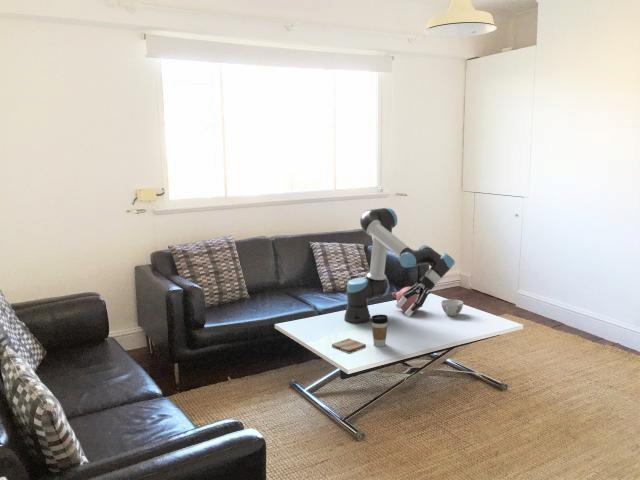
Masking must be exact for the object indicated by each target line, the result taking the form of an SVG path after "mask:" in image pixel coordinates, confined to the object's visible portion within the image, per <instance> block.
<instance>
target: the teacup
mask: <svg viewBox="0 0 640 480" xmlns="http://www.w3.org/2000/svg"><path fill="white" fill-rule="evenodd" d="M440 303H441V308H442V310H443V312H444V313H445V314H446V315H447V316H448V317H457V316H458V315H459V313H461V311H462V310H463V307H464V301H462V300H460V299H444V300H441V302H440Z"/></svg>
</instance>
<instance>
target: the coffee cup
mask: <svg viewBox="0 0 640 480" xmlns="http://www.w3.org/2000/svg"><path fill="white" fill-rule="evenodd" d="M388 319H389V318H388V315H386V314H373V315H371V319H370V321H371V329H372V340H373V346H375V347H379V348H380V347H385V346H386V341H387V331H388V322H389V320H388Z"/></svg>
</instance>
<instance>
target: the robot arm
mask: <svg viewBox="0 0 640 480" xmlns="http://www.w3.org/2000/svg"><path fill="white" fill-rule="evenodd" d="M359 222H360V228H361V229H362V230H363V231H364V232H365V234H367V235H368V236H371V237H373V238H372V248H371V256H370V263H369V264H370V266H369V272H368V273H367V274H366V277H365V278H364V277H358V278H357V277H356V278H352V279H350V280H349V281H348V282H347V283H346V284H347V285H346V286H347V287H346V294H347V295H346V296H347V297H346V300H347V302H346V303H347V305H346V310H345V313H344V320H345V321H346V322H347V323H352V324H364V323H368V322H370V321H371V318H372V315H371V314H370V310H369V307H368V301H369V300H374V299H377V298H382V297H384V296H386V295H387V294H388V293H389V291H390V283H389V279H388V278H387V275H386V274H385V271H386V270H385V269H386V263H387V262H386V261H387V253H388V251H390V252H391V253H393V255H394V256H396V257H397V258H398V259H399V263H400V266H401V267H403V268H412V267H413V268H414V267H417V266H421V265H422V266H423V265H429V266H430V268H429V269H428V270H427V271H426V272H425V274H424V275H422V277H421V278H419V282H420V283H418V282H415V284H414V285H412V286H410V287H411V288H409V289H408V290H407V291H405V292H404V293H403V294H404V295H403V297H402V298H401V299H400V300H399V302H398V303H397V302H396V304H395V307H396V308H397V309H400V310H401V308H400V307H401V306H402V305H403V304H404V303H405V302H406V301H407V300H408V298H409V297H411V296H413V295H415V294H418V296H417V299H416V301H415V302H414V303H413V304H412V305H411V307H410V308H409V309H408V310H407V311H406V312H405V311H404V314H405V315H406V316H407V317H410V316H411V315H413V313H415V312H416V311H415V309H416V308H417V307H420V308H422V307H423V305H424V303H425V301H426V299H427V298H428V296H429V294H430V293H431V291H432V290H433V288H435V285H437V284H438V283H439V282H440V280H441V279H442V278H443V277H444V276H445V275H446V274H447V273H448V272H449V271H450V270H452V268H453V266H454V265H455V263H456V261H455V260H454V258H452V257H451V256H450V255H449V254H448V253H443V254H440V253H438V251H436V250H434V249H433V248H432V247H430V246H428V245H426V244H425V245H424V244H423V245H422V246H420V247H419V248H418V249H417V250H413V249H412V248H410V247H409V246H408V245H407V244H406V243H404V242H403V241H402V240H400V239H399V238H398V237H397V236H396V235H394V234H393V233H392V232H393V229H394V228H395V227H396V226H397V225H398V216H397V214H396V211H394V210H393V209H392V208H390V207H382V208H381V207H380V208H374V209H373V208H372V209H368V210H366V211H364V212H363V213H362V214H361V216H360V219H359ZM414 311H415V312H414Z"/></svg>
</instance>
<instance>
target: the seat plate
mask: <svg viewBox="0 0 640 480" xmlns="http://www.w3.org/2000/svg"><path fill="white" fill-rule="evenodd" d="M332 346H333V348H334V347H336V348H335V349H337V348H338V349H337V350H340V349H341V351H342V350H343V352H345V351H346V352H345V353H347V352H350V353H353V352H355V351H358V350H361V349H363V348H366V343H364V342H360V341H359V340H358V341H357V340H354V339H352V338H349V337H348V338H346V339H343V340H340V341H337V342H335V343H332V344H331V347H332ZM360 348H361V349H360ZM357 349H358V350H357ZM352 351H353V352H352Z"/></svg>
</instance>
